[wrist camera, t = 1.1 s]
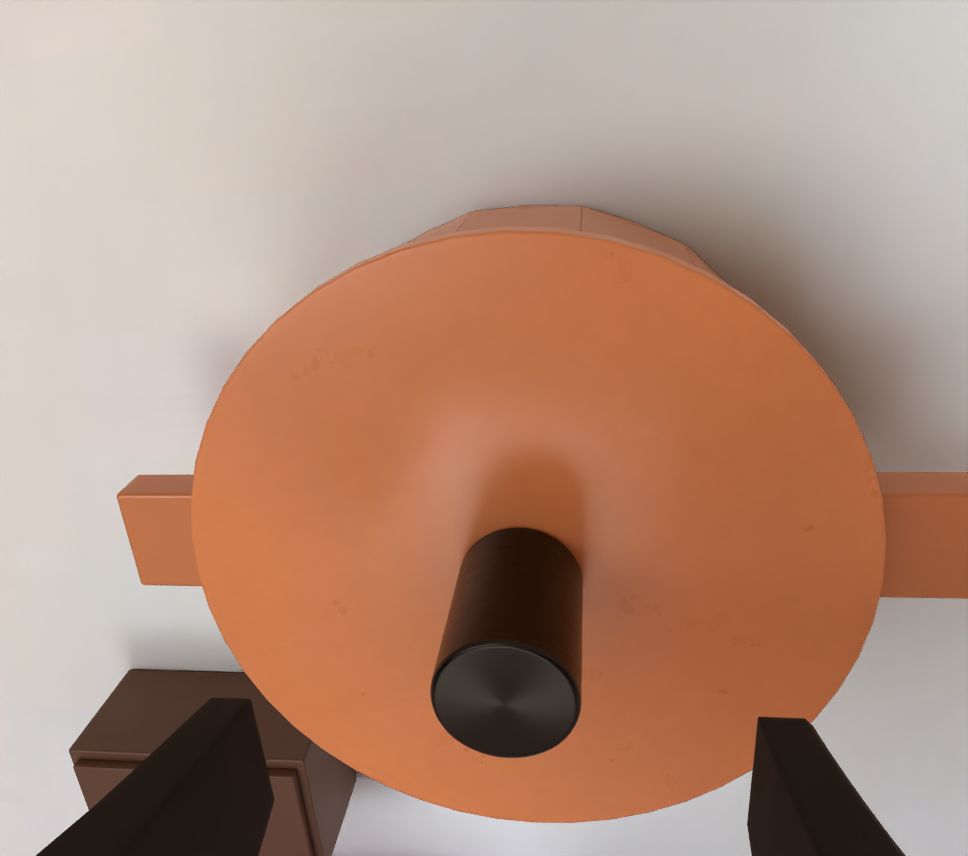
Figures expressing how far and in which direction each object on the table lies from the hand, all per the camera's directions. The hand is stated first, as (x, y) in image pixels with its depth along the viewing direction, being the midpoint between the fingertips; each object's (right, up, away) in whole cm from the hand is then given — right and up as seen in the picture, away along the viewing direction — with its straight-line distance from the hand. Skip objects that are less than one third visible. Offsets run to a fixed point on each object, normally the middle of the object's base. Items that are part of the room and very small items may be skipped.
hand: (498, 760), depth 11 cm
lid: (+1, +2, +5) cm, 5 cm away
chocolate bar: (-8, -5, +15) cm, 18 cm away
